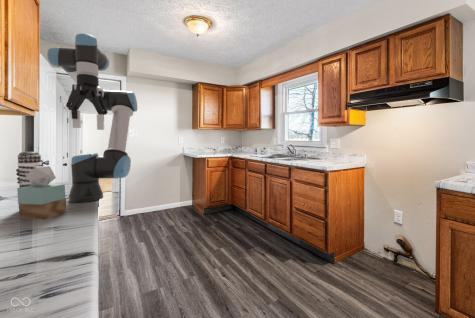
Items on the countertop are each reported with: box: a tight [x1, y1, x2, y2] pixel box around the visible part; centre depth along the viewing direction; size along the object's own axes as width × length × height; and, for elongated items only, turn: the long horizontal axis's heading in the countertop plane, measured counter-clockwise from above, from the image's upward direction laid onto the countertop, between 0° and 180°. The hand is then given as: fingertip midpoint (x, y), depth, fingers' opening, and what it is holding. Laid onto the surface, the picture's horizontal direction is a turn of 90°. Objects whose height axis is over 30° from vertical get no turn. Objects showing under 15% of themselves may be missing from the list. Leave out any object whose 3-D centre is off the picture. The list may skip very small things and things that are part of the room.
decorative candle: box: [15, 151, 44, 188], centre depth 106 cm, size 9×9×25 cm
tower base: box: [18, 197, 68, 220], centre depth 99 cm, size 10×10×6 cm
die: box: [26, 165, 56, 187], centre depth 98 cm, size 8×9×10 cm
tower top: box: [16, 183, 66, 205], centre depth 98 cm, size 10×10×6 cm
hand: (89, 128), depth 100 cm, fingers open, 13 cm apart
